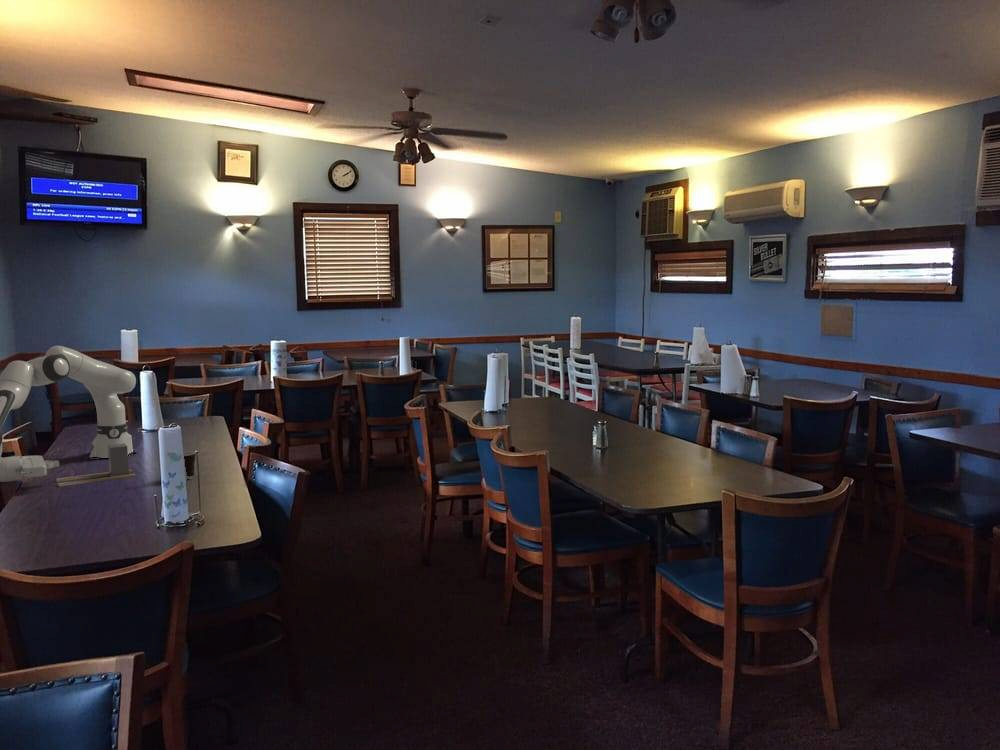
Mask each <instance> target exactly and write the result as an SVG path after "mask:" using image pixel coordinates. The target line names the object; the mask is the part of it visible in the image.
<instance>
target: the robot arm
mask: <svg viewBox="0 0 1000 750" xmlns="http://www.w3.org/2000/svg"><path fill="white" fill-rule="evenodd" d="M67 377H68V378H70V379H72V380H75V381H77V382H79V383H81V384H83V386H84V387H85V388H86V390H88V392H89V394H90V395H91V397H92V399H93V401H94V404H95V405H94V406H95V408H96V418H97V419H96V420H97V425H96V428H95V429H96V434H97V435H96V436H95V437H94V439H93V440H92V441H91V447H92V450H91V452H90V454H89V458H90V457H100V458H108V445H114V444H123V443H125V444H126V445H127V450H128V454H129V453H131V452H133V450H134V449H133V440H132V439H133V437H132V434H130V433H128V424H127V422H126V419H127V418H126V406H125V403H123V402H122V401H121V400H120V398H119V397H118V395H122V394H126V393H130V392H132V391H133V390H134V389H135V387H136V384H137V378H136V375H135V374H134V372H132V371H129V370H127V369H124V368H120V367H118V366H116V365H113V364H110V363H107V362H104V361H101V360H98V359H95V358H93V357H90V356H88V355H86V354H84V353H82V352H80V351H77V350H75V349H73V348H70V347H66V346H63V345H54V346H52V347H50V348H49V349H47V351H46V353H45V355H44V356H39V357H35V358H33V359H29V360H25V361H24V360H13V361H11V362H9V363H8V364H7V365H6V367H5V368H4V369H3V371H2V372H1V374H0V482H3V483H6V482H7V483H9V482H15V481H22V480H23V478H35V477H44V476H47V475H48V470H49V469H53V468H58V467H60V462H59V461H60V460H44V458H43V457H44V456H43V455H24V456H20V455H19V454H17V455H12V456H5V457H2V454H3V430H2V429H3V426H4V423H5V421H6V419H7V417H8V415H9V413H10V411H11V410H17V409H19V408H21V407H22V406H23V405H24V403H25V401H27V398H28V396H29V394H30V391H31V390H32V389H31V388H34V387H40V386H47V385H50V384H54V383H55V382H57V383H58V382H61V381H63V380H64V379H66V378H67Z"/></svg>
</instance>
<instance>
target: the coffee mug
mask: <svg viewBox="0 0 1000 750" xmlns="http://www.w3.org/2000/svg"><path fill="white" fill-rule="evenodd" d="M183 451H184V459H185V467H186V472H187V476H189V477H190V476H193V475H194V476H195V468H196V454H197V453H196V451H192V450H191V451H190V450H189V451H188V450H186V451H185V450H183Z"/></svg>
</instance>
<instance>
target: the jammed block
mask: <svg viewBox="0 0 1000 750" xmlns="http://www.w3.org/2000/svg"><path fill="white" fill-rule="evenodd" d="M108 458H109V459H108V472H109V475H108V476H109V477H111V476H119V475H127V474H130V473H129V470H130V469H129V456H128V450H127V445H126V444H125V443H123V444H114V445H108Z"/></svg>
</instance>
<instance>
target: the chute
mask: <svg viewBox="0 0 1000 750" xmlns="http://www.w3.org/2000/svg"><path fill="white" fill-rule="evenodd" d="M129 478H137V474H136V473H133V469H129V474H127V475H119V476H111V477H110V475H109V471H108V472H99V473H90V474H83V475H75V476H73V475H72V476H65V477H58V478H56V479H55V480H56V482H57V486H58V487H67V486H72V485H73V486H75V485H80V484H81V485H82V484H89V483H95V482H96V483H97V482H105V481H113V480H119V479H129ZM72 480H73V481H72Z"/></svg>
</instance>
